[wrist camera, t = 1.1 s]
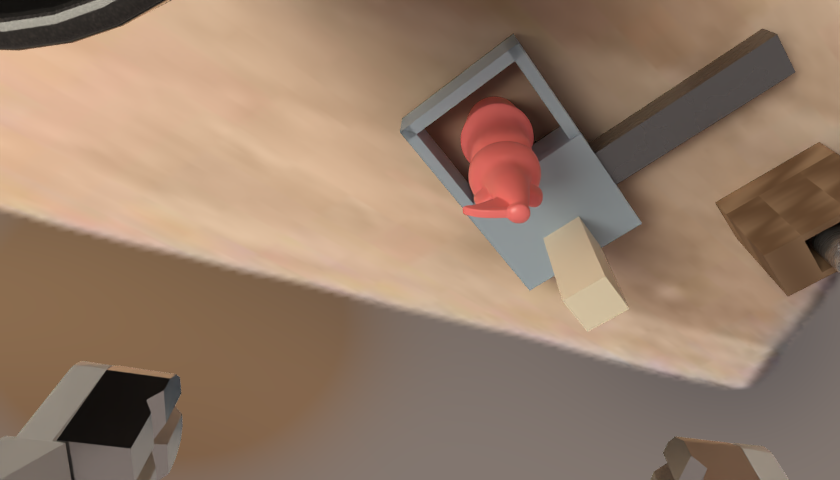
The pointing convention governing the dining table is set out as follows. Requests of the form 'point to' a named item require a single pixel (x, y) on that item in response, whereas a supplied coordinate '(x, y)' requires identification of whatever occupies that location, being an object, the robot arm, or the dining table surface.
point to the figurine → (501, 161)
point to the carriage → (562, 196)
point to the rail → (693, 105)
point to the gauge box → (788, 216)
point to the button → (828, 245)
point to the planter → (64, 20)
